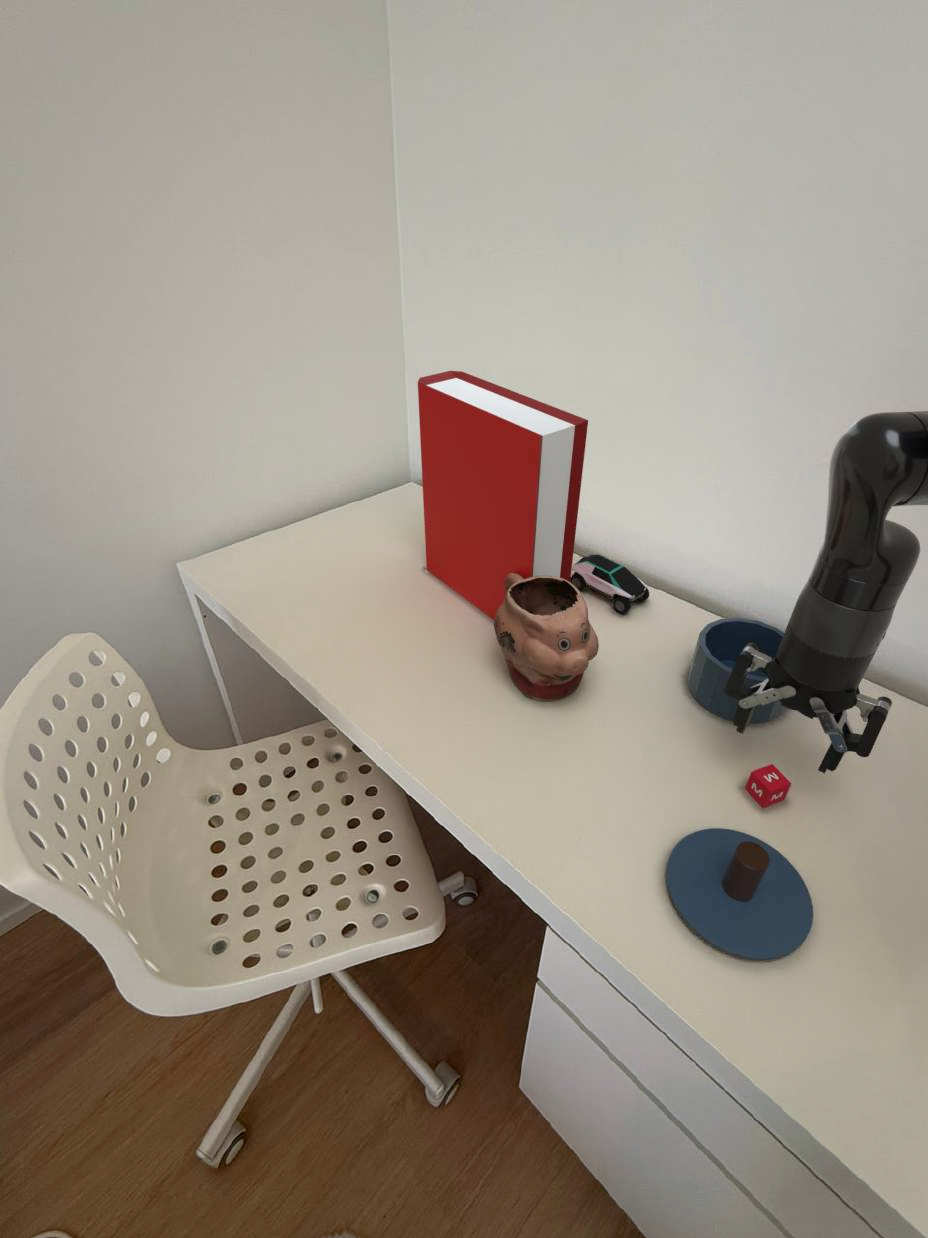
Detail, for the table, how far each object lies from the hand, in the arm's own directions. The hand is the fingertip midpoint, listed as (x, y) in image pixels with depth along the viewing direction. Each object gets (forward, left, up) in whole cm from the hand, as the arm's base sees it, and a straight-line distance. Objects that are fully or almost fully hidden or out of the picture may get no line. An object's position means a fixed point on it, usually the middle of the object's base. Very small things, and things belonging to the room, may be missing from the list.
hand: (781, 747), depth 69 cm
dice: (0, 0, -8) cm, 8 cm away
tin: (+9, -15, -8) cm, 19 cm away
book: (+49, -12, -8) cm, 51 cm away
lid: (-2, +14, -7) cm, 16 cm away
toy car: (+34, -24, -8) cm, 42 cm away
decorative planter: (+32, -1, -8) cm, 33 cm away
